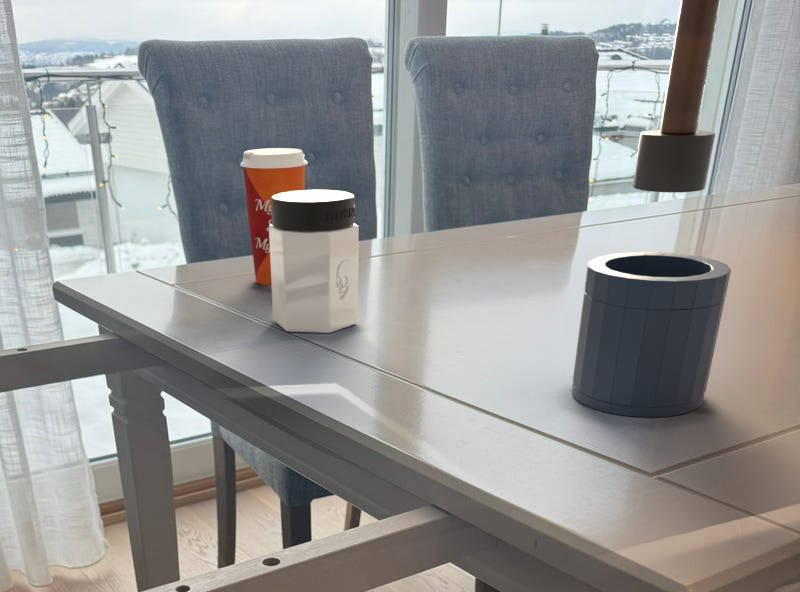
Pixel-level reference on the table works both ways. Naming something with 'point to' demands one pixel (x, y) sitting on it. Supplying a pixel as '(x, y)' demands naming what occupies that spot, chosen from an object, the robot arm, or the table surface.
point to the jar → (314, 260)
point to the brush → (681, 110)
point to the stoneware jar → (648, 332)
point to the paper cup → (268, 196)
